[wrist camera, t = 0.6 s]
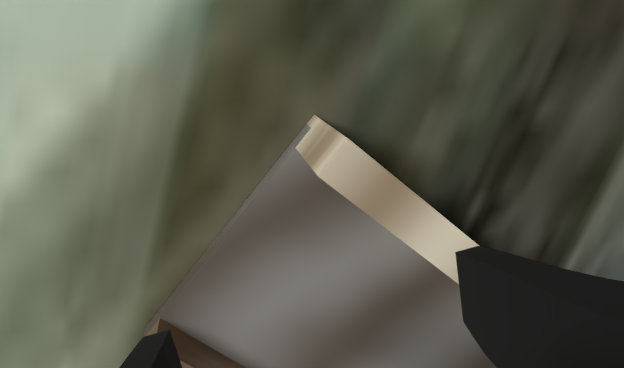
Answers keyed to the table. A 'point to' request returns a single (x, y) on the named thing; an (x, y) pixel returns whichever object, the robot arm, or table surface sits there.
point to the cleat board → (325, 273)
